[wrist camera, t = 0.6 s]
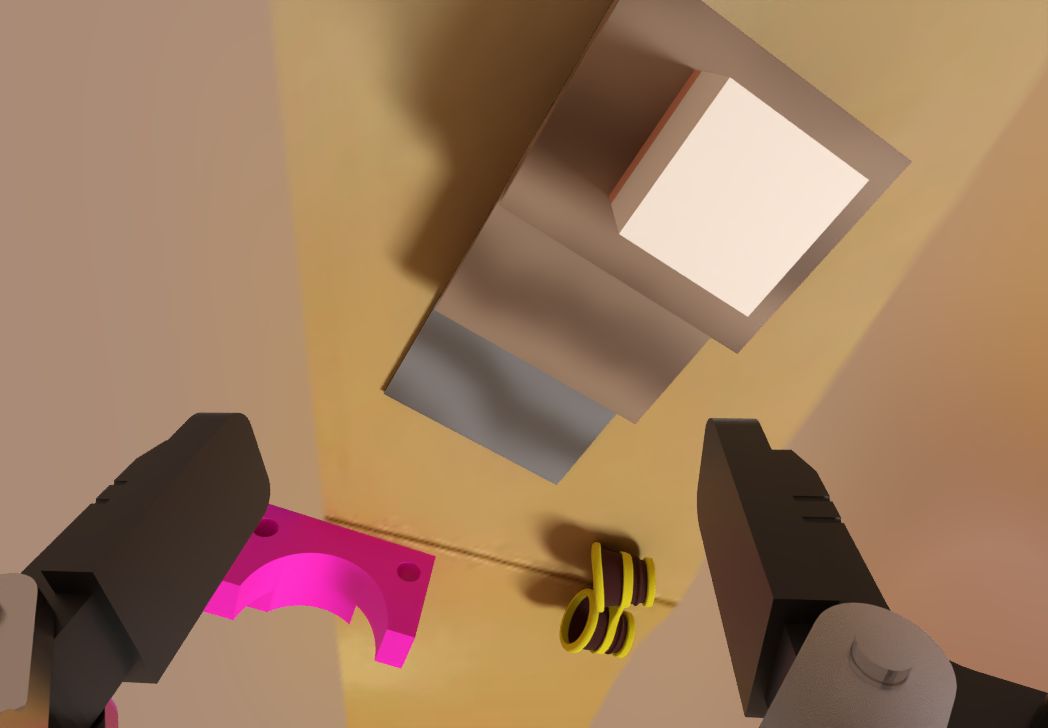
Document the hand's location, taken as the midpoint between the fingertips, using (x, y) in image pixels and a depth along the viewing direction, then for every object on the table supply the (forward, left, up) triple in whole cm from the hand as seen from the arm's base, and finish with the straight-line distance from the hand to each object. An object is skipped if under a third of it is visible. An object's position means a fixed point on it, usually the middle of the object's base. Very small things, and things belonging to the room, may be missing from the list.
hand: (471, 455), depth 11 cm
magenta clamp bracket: (+34, +2, -26) cm, 43 cm away
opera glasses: (+24, +22, -26) cm, 42 cm away
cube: (-5, +6, -19) cm, 20 cm away
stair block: (+4, +6, -26) cm, 27 cm away
